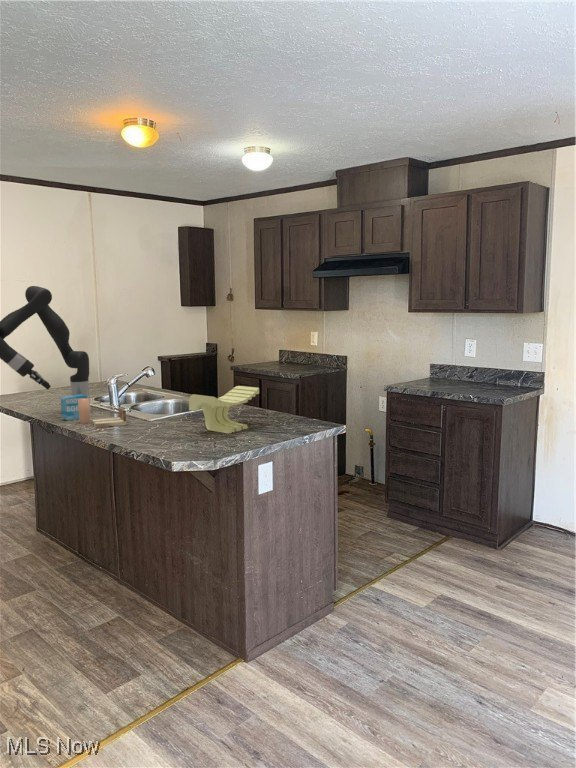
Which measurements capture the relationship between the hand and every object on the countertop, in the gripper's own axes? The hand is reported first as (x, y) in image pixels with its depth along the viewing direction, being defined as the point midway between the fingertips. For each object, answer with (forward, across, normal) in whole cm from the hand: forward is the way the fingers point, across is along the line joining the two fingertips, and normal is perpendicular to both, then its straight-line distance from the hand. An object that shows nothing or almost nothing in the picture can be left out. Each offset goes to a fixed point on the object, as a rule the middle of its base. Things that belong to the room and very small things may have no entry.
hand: (48, 386), depth 282 cm
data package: (+22, +12, +5) cm, 26 cm away
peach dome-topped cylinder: (+24, -1, +3) cm, 24 cm away
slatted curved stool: (+64, -48, -37) cm, 89 cm away
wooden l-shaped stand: (+31, -11, -4) cm, 33 cm away
